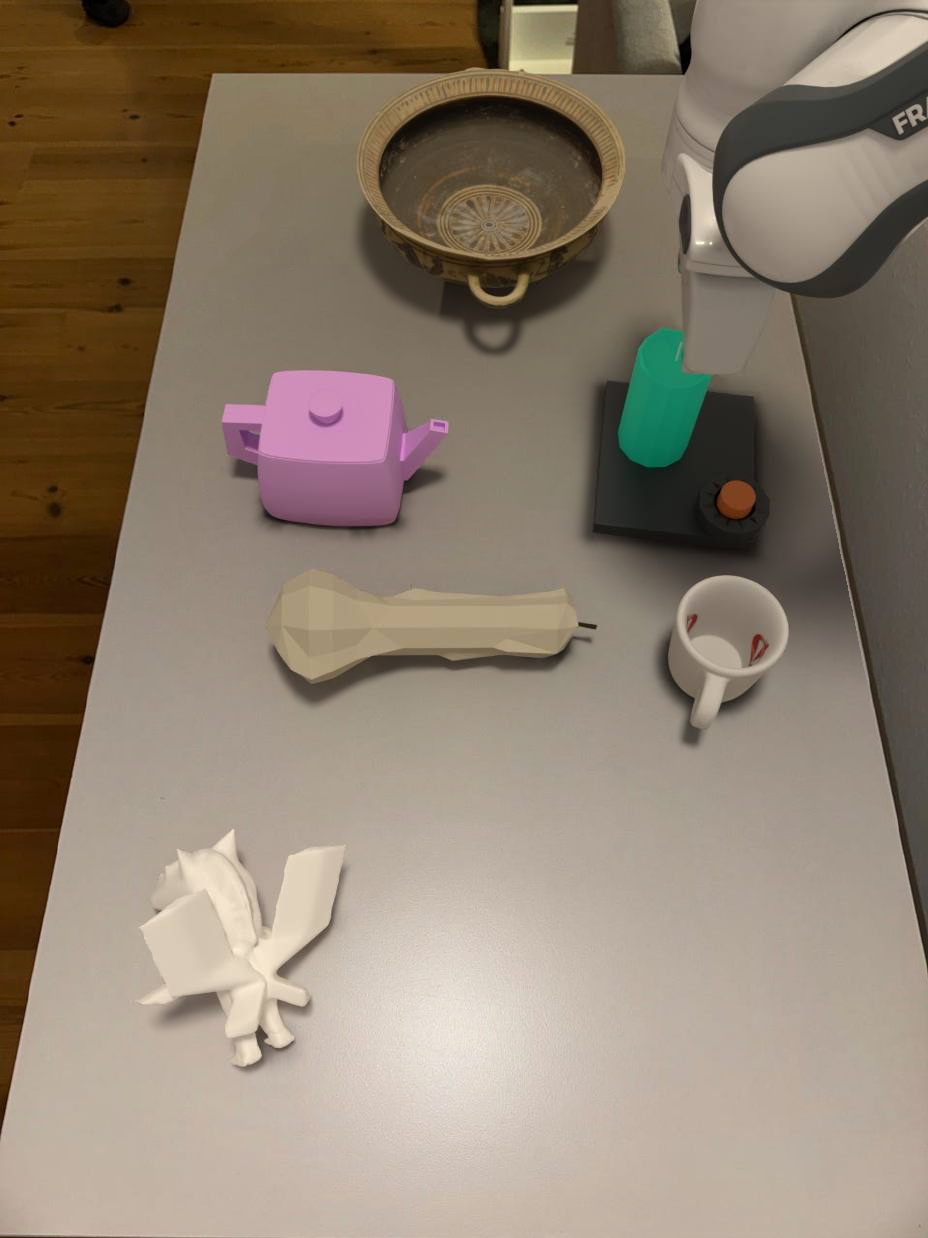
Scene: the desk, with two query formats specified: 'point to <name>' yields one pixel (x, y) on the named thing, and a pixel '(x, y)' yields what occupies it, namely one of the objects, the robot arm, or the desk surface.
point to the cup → (724, 641)
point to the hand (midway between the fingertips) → (690, 315)
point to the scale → (681, 478)
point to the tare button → (736, 499)
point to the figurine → (237, 936)
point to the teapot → (330, 447)
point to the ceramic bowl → (491, 177)
